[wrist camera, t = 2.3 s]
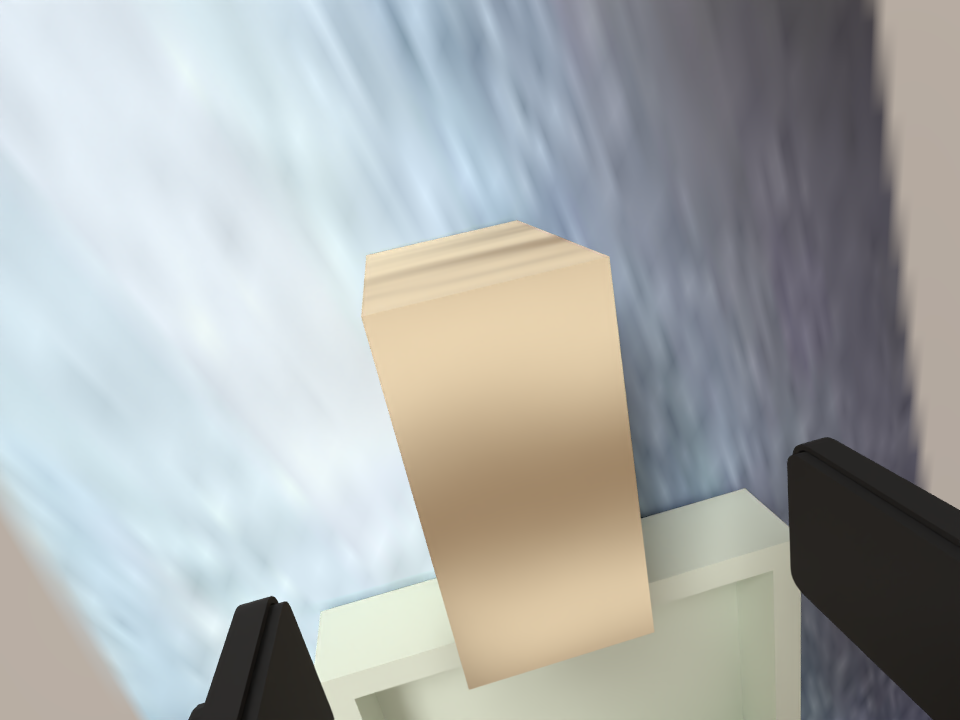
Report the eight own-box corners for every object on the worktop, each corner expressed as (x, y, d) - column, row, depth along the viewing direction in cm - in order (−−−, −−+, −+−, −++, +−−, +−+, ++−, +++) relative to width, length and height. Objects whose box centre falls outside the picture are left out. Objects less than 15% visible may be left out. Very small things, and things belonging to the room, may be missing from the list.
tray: (320, 611, 20) (312, 685, 17) (744, 488, 21) (801, 537, 18) (405, 827, 24) (409, 914, 21) (753, 711, 26) (800, 779, 23)
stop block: (366, 255, 16) (361, 316, 10) (517, 220, 17) (609, 257, 10) (437, 513, 19) (468, 689, 13) (562, 478, 20) (654, 631, 13)
